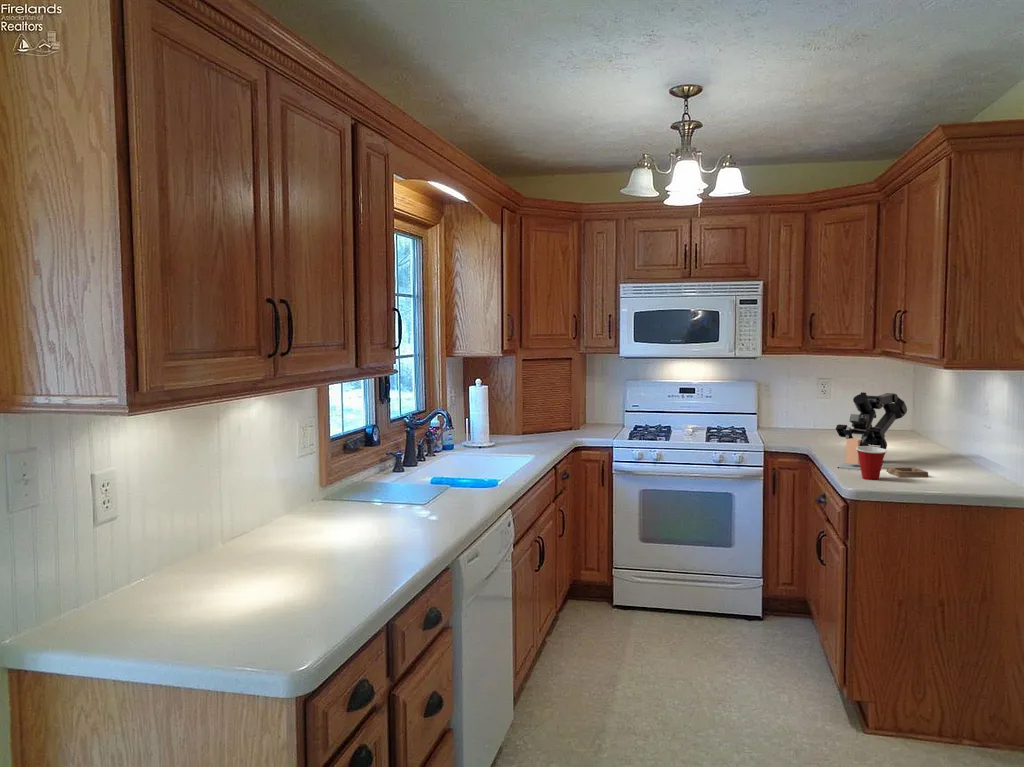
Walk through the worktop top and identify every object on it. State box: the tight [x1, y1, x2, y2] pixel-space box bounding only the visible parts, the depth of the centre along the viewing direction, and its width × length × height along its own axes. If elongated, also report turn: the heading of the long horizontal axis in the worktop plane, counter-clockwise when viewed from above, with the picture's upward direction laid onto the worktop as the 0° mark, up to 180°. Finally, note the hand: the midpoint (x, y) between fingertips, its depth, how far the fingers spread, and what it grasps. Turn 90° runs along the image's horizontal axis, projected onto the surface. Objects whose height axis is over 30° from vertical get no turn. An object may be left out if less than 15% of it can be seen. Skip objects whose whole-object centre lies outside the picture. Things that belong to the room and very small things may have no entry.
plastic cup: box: [856, 446, 888, 481], centre depth 288 cm, size 11×11×12 cm
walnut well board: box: [885, 466, 929, 478], centre depth 295 cm, size 11×11×2 cm
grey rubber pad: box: [836, 462, 861, 471], centre depth 312 cm, size 11×11×1 cm
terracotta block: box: [845, 437, 862, 464], centre depth 312 cm, size 5×5×10 cm
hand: (853, 447), depth 311 cm, fingers closed on terracotta block, 5 cm apart
